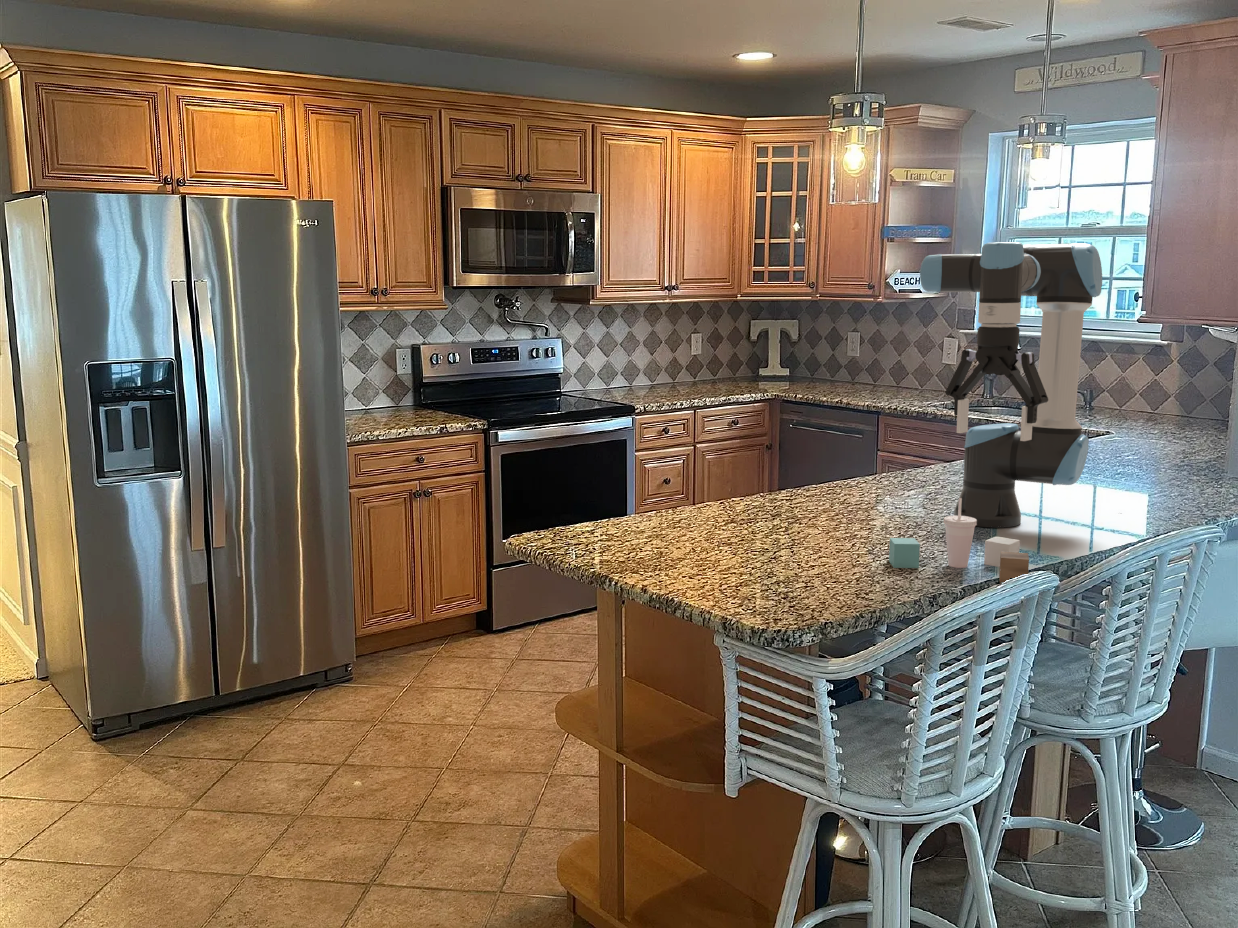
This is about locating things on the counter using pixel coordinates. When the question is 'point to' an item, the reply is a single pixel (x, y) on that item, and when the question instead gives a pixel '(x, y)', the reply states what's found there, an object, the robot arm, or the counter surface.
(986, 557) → the cube grey
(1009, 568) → the cube walnut
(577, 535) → the counter surface
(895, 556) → the cube teal
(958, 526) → the smoothie
